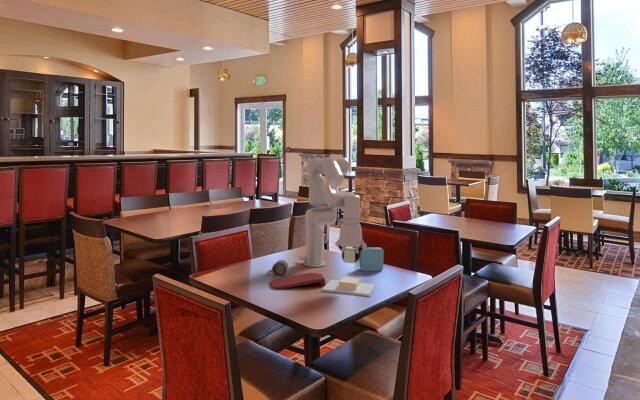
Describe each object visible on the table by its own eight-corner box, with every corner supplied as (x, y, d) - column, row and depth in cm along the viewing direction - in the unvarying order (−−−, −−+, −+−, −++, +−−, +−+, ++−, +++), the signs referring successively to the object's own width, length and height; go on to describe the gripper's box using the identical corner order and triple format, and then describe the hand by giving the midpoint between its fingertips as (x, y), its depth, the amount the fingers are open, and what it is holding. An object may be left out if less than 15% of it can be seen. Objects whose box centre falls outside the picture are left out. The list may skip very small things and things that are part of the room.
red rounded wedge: (273, 297, 211) (326, 287, 216) (272, 287, 210) (325, 277, 215) (270, 289, 223) (321, 280, 228) (269, 280, 222) (319, 270, 227)
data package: (381, 268, 252) (382, 247, 251) (383, 271, 248) (384, 249, 246) (359, 268, 251) (360, 247, 249) (361, 271, 246) (361, 249, 245)
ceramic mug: (288, 273, 239) (288, 258, 238) (286, 277, 231) (286, 262, 230) (268, 272, 239) (268, 258, 238) (265, 277, 231) (265, 262, 230)
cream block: (343, 262, 211) (344, 249, 211) (346, 259, 216) (346, 247, 216) (354, 263, 210) (354, 250, 209) (356, 260, 215) (356, 248, 214)
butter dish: (321, 291, 210) (322, 282, 210) (330, 281, 225) (330, 273, 225) (369, 296, 204) (369, 287, 204) (375, 286, 219) (375, 278, 219)
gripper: (331, 221, 210) (330, 260, 212) (368, 224, 205) (367, 264, 207) (335, 219, 217) (334, 257, 219) (371, 221, 212) (369, 260, 214)
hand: (350, 260), depth 213 cm, fingers closed on cream block, 4 cm apart
